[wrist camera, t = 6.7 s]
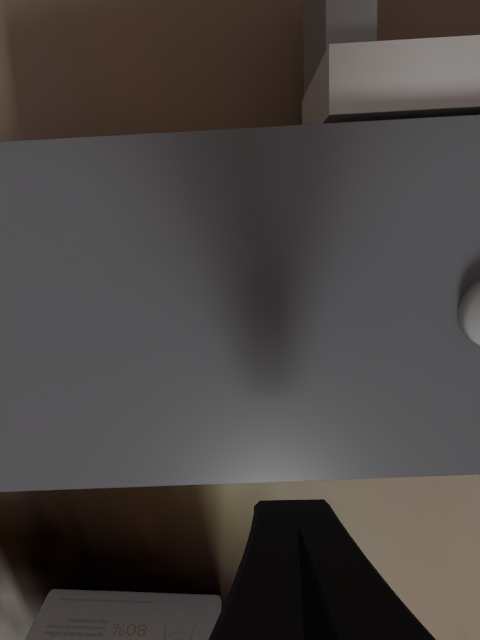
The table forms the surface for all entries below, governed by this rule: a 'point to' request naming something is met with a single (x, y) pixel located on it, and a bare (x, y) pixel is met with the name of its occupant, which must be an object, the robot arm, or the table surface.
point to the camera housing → (241, 305)
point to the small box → (125, 616)
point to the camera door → (381, 69)
